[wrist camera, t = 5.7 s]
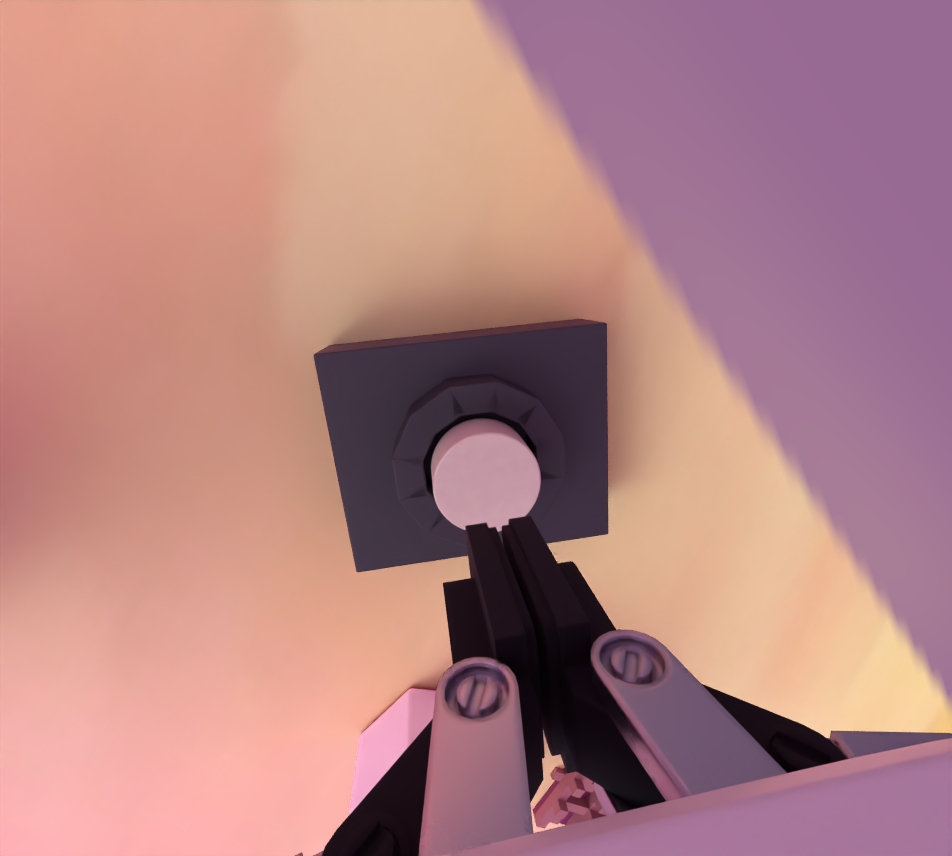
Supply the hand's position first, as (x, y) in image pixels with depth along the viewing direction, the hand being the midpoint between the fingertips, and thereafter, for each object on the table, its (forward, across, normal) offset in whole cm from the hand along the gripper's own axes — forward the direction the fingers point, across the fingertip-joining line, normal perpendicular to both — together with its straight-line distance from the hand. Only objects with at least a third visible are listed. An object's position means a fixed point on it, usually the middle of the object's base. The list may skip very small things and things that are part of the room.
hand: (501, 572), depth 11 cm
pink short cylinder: (+7, -1, 0) cm, 7 cm away
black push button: (+12, -1, 0) cm, 12 cm away
